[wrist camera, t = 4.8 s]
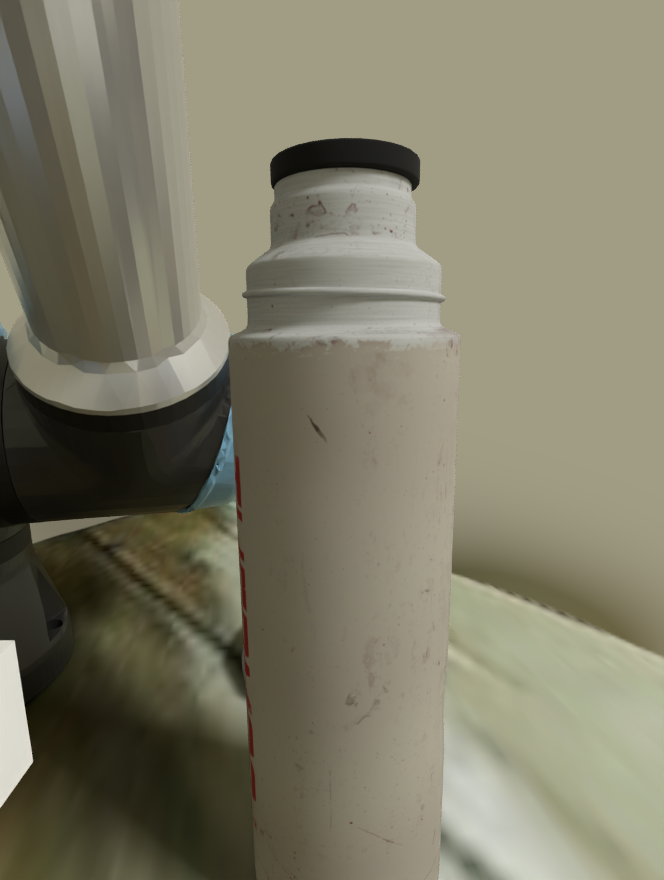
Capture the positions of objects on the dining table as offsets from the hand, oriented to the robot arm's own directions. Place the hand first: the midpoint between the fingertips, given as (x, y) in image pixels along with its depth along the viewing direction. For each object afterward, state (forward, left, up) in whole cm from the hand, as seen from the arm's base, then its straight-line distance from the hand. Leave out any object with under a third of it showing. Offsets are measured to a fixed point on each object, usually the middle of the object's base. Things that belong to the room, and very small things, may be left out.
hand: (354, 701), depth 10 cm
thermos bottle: (-5, +8, -16) cm, 18 cm away
